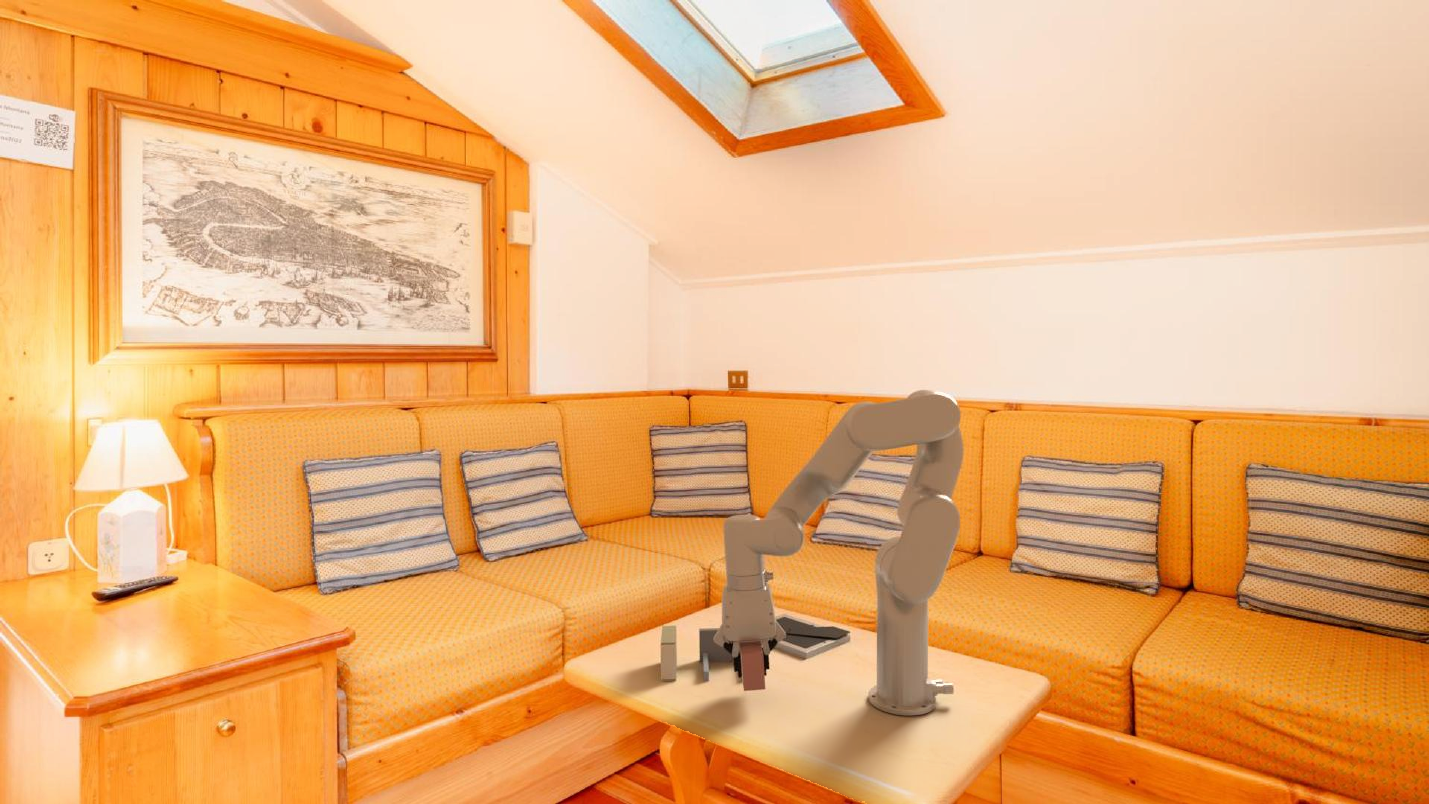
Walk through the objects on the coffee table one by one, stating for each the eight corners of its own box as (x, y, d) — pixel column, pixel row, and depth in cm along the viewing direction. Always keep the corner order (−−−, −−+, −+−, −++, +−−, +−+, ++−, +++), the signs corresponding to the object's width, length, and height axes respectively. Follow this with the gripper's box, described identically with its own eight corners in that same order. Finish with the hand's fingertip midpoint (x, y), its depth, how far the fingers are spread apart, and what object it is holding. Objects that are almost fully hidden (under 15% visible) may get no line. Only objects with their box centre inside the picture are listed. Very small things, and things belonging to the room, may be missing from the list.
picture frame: (850, 643, 182) (784, 621, 197) (850, 631, 181) (784, 610, 197) (806, 661, 171) (739, 637, 186) (806, 649, 171) (739, 625, 186)
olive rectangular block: (676, 661, 170) (676, 625, 170) (676, 680, 160) (675, 642, 159) (662, 662, 170) (662, 625, 169) (661, 681, 160) (660, 643, 159)
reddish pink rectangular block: (760, 668, 155) (758, 633, 155) (765, 689, 145) (763, 652, 145) (740, 669, 155) (738, 635, 155) (743, 691, 145) (741, 654, 145)
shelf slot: (749, 658, 171) (749, 627, 171) (753, 680, 160) (753, 646, 160) (699, 659, 171) (699, 628, 170) (700, 681, 160) (700, 647, 159)
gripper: (787, 572, 153) (792, 663, 154) (702, 578, 153) (708, 669, 154) (792, 583, 146) (797, 678, 147) (702, 589, 145) (709, 685, 146)
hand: (751, 672), depth 150 cm, fingers closed on reddish pink rectangular block, 4 cm apart
